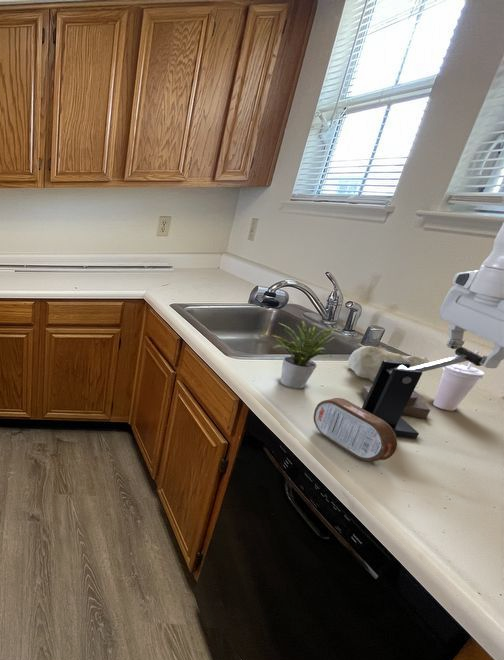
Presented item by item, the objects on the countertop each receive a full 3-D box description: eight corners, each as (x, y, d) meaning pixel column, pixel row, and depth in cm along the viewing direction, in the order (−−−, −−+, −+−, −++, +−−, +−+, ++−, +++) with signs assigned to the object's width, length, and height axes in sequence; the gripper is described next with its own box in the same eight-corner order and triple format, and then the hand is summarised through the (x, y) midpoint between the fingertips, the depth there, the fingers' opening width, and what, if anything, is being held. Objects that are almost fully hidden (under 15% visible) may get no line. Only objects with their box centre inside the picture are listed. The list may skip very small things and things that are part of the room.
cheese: (326, 376, 115) (373, 362, 101) (332, 353, 117) (380, 336, 102) (381, 398, 114) (437, 387, 99) (387, 374, 115) (442, 360, 101)
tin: (387, 469, 76) (407, 430, 72) (373, 471, 75) (392, 432, 72) (317, 425, 89) (331, 390, 85) (305, 426, 88) (318, 391, 85)
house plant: (292, 368, 115) (311, 311, 108) (341, 390, 103) (366, 328, 96) (250, 373, 112) (267, 315, 105) (295, 398, 100) (318, 334, 93)
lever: (466, 354, 82) (465, 344, 81) (487, 366, 77) (485, 354, 77) (384, 375, 88) (381, 365, 87) (398, 387, 83) (396, 377, 82)
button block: (412, 402, 98) (420, 387, 97) (426, 418, 92) (434, 402, 90) (360, 393, 102) (366, 379, 100) (369, 408, 96) (376, 393, 94)
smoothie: (469, 415, 93) (503, 358, 87) (433, 410, 95) (464, 354, 89) (453, 402, 99) (483, 347, 92) (419, 397, 100) (447, 343, 94)
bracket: (395, 418, 92) (423, 361, 86) (416, 438, 85) (448, 378, 79) (337, 411, 94) (360, 355, 88) (353, 430, 87) (380, 370, 81)
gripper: (587, 302, 64) (535, 382, 70) (488, 274, 82) (454, 340, 88) (535, 298, 65) (489, 377, 71) (449, 272, 83) (418, 337, 89)
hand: (469, 356), depth 80 cm, fingers open, 8 cm apart
